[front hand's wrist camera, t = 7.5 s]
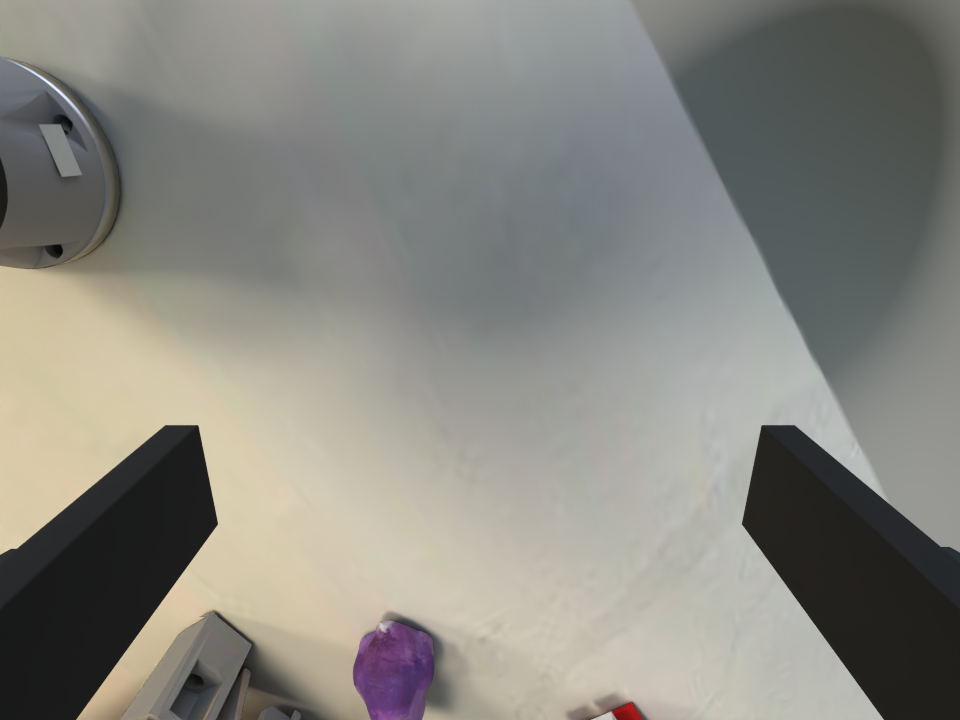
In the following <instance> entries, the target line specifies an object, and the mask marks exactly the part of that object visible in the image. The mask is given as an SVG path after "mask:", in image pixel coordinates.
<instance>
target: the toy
mask: <svg viewBox="0 0 960 720" xmlns="http://www.w3.org/2000/svg"><path fill="white" fill-rule="evenodd" d="M592 720H643V719H642V717H641V716H640V714H639V713H638V711H637V710H636V708H635V707H634V705H633V704H632V703H629V704H627V705H625V706H623V707H620V708H618V709H616V710H614V711H611V712H609V713H606V714H604V715H601V716H599V717H597V718H594V719H592Z"/></svg>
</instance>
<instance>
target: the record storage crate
mask: <svg viewBox="0 0 960 720" xmlns="http://www.w3.org/2000/svg"><path fill="white" fill-rule="evenodd" d="M200 617H206V618H204V619H203V620H201V621H199V622H198V623H196V624H194V625H193V626H191V627H189V628H188V629H186V630H184V631H183V632H181V633H179V634H178V636H177V637H176V639H175V640H174V642H173V643H172V645H171V646H170V648H169V649H168V650H167V652H166V653H165V655H164V656H163V658H162V659H161V661H160V662H159V664H158V665H157V667H156V668H155V669H154V671H153V672H152V674H151V675H150V677H149V678H148V680H147V681H146V683H145V684H144V685H143V687H142V688H141V690H140V691H139V693H138V694H137V696H136V697H135V699H134V700H133V701H132V703H131V704H130V706H129V707H128V709H127V710H126V712H125V713H124V715H123V716H122V717H121V719H120V720H240V719H241V715H242V711H243V706H244V702H245V697H246V693H247V689H248V684H249V680H250V675H251V672H250V671H248V670H247V669H246V668H244V670H243V671H242V673H241V675H240V677H239V678H238V677H237V675H238V673H239V671H240V668H241V666H242V664H243V662H244V660H245V658H246V656H247V654H248V652H249V650H250V648H251V646H252V644H250V643H249V642H248V641H247V640H245V639H244V638H243V637H242V636H240V635H239V634H238V633H237V632H236V631H234V630H233V629H232V628H231V627H229V626H228V625H227V624H226V623H225V622H223V621H222V620H221V619H220V618H218V617H217V615H216V614H215V613H213V612H210V613H208V614H205V615H202V616H200ZM258 720H301V713H299V712H298V711H296V710H294V713H293V715H292V717H291V718H289V717H288V716H286V715H285V714H283V713H282V712H280V711H279V710H278V709H276V708H275V707H273V706H270V707H268V708H266V709H264V710H263V711H261V713H260V715H259V718H258Z"/></svg>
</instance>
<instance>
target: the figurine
mask: <svg viewBox="0 0 960 720" xmlns="http://www.w3.org/2000/svg"><path fill="white" fill-rule="evenodd" d="M433 674H434V647H433V641H432V638H431V637H430V636H429V635H428V634H427V633H424V632H422V631H417V630H415V629H413V628H411V627H409V626H406V625H404V624H401V623H398V622H395V621H382V622H380V623H379V624H378V625H377V628H376V631H375V632H374V633H371V634H369V635H366V636H364V637H363V638H362V639H361V641H360V646H359V651H358V655H357V658H356V660H355V664H354V669H353V679H354V685H355V687H356V689H357V691H358V693H359V694H360V695H361V697H362V698H363V700H364V702H365V704H366V706H367V709H368V712H369V715H370V718H371V720H422V717H423V714H424V710H425V691H426V689H427V688H428V687H429V685H430V684H431V682H432V679H433Z"/></svg>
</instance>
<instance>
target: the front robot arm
mask: <svg viewBox="0 0 960 720" xmlns="http://www.w3.org/2000/svg"><path fill="white" fill-rule="evenodd" d="M119 199H120V181H119V174H118V168H117V164H116V160H115V157H114V154H113V151H112V148H111V146H110V143H109V141H108V139H107V137H106V135H105V133H104V131H103V129H102V128H101V126H100V125H99V123H98V121H97V120H96V118H95V117H94V116H93V114H92V113H91V112H90V110H89V109H88V108H87V107H86V106H85V104H84V103H83V102H82V101H81V100H80V99H79V98H78V97H77V96H76V95H75V94H74V93H73V92H72V91H70V90H69V89H68V88H67V87H66V86H65V85H63V84H62V83H61V82H59V81H58V80H56V79H55V78H53V77H52V76H50V75H49V74H47V73H45V72H43V71H41V70H39V69H37V68H36V67H33V66H31V65H28V64H26V63H23V62H20V61H16V60H13V59H8V58H4V57H0V266H7V267H14V268H24V269H39V268H47V267H51V266H55V265H60V264H64V263H68V262H71V261H74V260H77V259H79V258H81V257H83V256H85V255H87V254H88V253H90V252H91V251H93V250H94V249H95V248H96V247H97V246H98V245H99V244H100V243H101V242H102V241H103V240H104V239H105V237H106V236H107V235H108V233H109V231H110V229H111V228H112V226H113V223H114V221H115V218H116V215H117V211H118V206H119ZM217 525H218V521H217V516H216V511H215V506H214V501H213V496H212V491H211V486H210V481H209V476H208V471H207V466H206V461H205V457H204V452H203V447H202V442H201V437H200V432H199V427H198V425H165V426H164V427H163V428H162V429H160V430H159V431H158V432H157V433H156V434H154V435H153V436H152V437H151V438H150V439H148V440H147V441H146V442H145V443H144V444H142V445H141V446H140V447H139V448H138V449H136V450H135V451H134V452H133V453H132V454H130V455H129V456H128V457H127V458H126V459H124V460H123V461H122V462H121V463H120V464H118V465H117V466H116V467H115V468H114V469H112V470H111V471H110V472H109V473H108V474H106V475H105V476H104V477H103V478H102V479H100V480H99V481H98V482H97V483H96V484H94V485H93V486H92V487H91V488H90V489H88V490H87V491H86V492H85V493H84V494H82V495H81V496H80V497H79V498H78V499H76V500H75V501H74V502H73V503H71V504H70V505H69V506H68V507H67V508H65V509H64V510H63V511H62V512H61V513H59V514H58V515H57V516H56V517H55V518H53V519H52V520H51V521H50V522H49V523H47V524H46V525H45V526H44V527H43V528H41V529H40V530H39V531H38V532H37V533H35V534H34V535H33V536H32V537H31V538H29V539H28V540H27V541H26V542H25V543H23V544H22V545H21V546H20V547H19V548H17V549H10V550H8V551H6V552H5V553H3V554H1V555H0V720H76V719H77V718H78V716H79V715H80V713H81V712H82V711H83V709H84V708H85V707H86V705H87V704H88V702H89V701H90V700H91V698H92V697H93V696H94V694H95V693H96V691H97V690H98V689H99V687H100V686H101V685H102V683H103V682H104V680H105V679H106V678H107V676H108V675H109V674H110V672H111V671H112V669H113V668H114V667H115V665H116V664H117V663H118V661H119V660H120V658H121V657H122V656H123V654H124V653H125V652H126V650H127V649H128V647H129V646H130V645H131V643H132V642H133V641H134V639H135V638H136V636H137V635H138V634H139V632H140V631H141V630H142V628H143V627H144V625H145V624H146V623H147V621H148V620H149V618H150V617H151V616H152V614H153V613H154V612H155V610H156V609H157V607H158V606H159V605H160V603H161V602H162V601H163V599H164V598H165V596H166V595H167V594H168V592H169V591H170V590H171V588H172V587H173V585H174V584H175V583H176V581H177V580H178V579H179V577H180V576H181V574H182V573H183V572H184V570H185V569H186V568H187V566H188V565H189V563H190V562H191V561H192V559H193V558H194V557H195V555H196V554H197V552H198V551H199V550H200V548H201V547H202V546H203V544H204V543H205V541H206V540H207V539H208V537H209V536H210V535H211V533H212V532H213V530H214V529H215V528H216V526H217ZM742 525H743V526H744V528H745V529H746V530H747V532H748V533H749V535H750V536H751V537H752V539H753V540H754V541H755V543H756V544H757V546H758V547H759V548H760V550H761V551H762V552H763V554H764V555H765V557H766V558H767V559H768V561H769V562H770V563H771V565H772V566H773V568H774V569H775V570H776V572H777V573H778V574H779V576H780V577H781V579H782V580H783V581H784V583H785V584H786V585H787V587H788V588H789V590H790V591H791V592H792V594H793V595H794V596H795V598H796V599H797V601H798V602H799V603H800V605H801V606H802V607H803V609H804V610H805V612H806V613H807V614H808V616H809V617H810V618H811V620H812V621H813V623H814V624H815V625H816V627H817V628H818V630H819V631H820V632H821V634H822V635H823V636H824V638H825V639H826V641H827V642H828V643H829V645H830V646H831V647H832V649H833V650H834V652H835V653H836V654H837V656H838V657H839V658H840V660H841V661H842V663H843V664H844V665H845V667H846V668H847V669H848V671H849V672H850V674H851V675H852V676H853V678H854V679H855V680H856V682H857V683H858V685H859V686H860V687H861V689H862V690H863V691H864V693H865V694H866V696H867V697H868V698H869V700H870V701H871V702H872V704H873V705H874V707H875V708H876V709H877V711H878V712H879V713H880V715H881V716H882V718H883V719H884V720H960V553H959V552H958V551H956V550H954V549H952V548H950V547H940V546H939V545H938V544H937V543H935V542H934V541H933V540H932V539H931V538H929V537H928V536H927V535H926V534H924V533H923V532H922V531H921V530H920V529H919V528H917V527H916V526H915V525H914V524H913V523H911V522H910V521H909V520H908V519H907V518H905V517H904V516H903V515H902V514H901V513H899V512H898V511H897V510H896V509H895V508H893V507H892V506H891V505H890V504H889V503H887V502H886V501H885V500H884V499H882V498H881V497H880V496H879V495H878V494H876V493H875V492H874V491H873V490H872V489H870V488H869V487H868V486H867V485H866V484H864V483H863V482H862V481H861V480H860V479H858V478H857V477H856V476H855V475H854V474H852V473H851V472H850V471H849V470H848V469H846V468H845V467H844V466H843V465H842V464H840V463H839V462H838V461H837V460H836V459H834V458H833V457H832V456H831V455H830V454H828V453H827V452H826V451H825V450H824V449H822V448H821V447H820V446H819V445H818V444H816V443H815V442H814V441H813V440H812V439H810V438H809V437H808V436H807V435H806V434H804V433H803V432H802V431H801V430H800V429H798V428H797V427H796V426H795V425H762V427H761V432H760V437H759V442H758V447H757V451H756V456H755V461H754V466H753V471H752V476H751V481H750V486H749V491H748V496H747V501H746V506H745V511H744V516H743V521H742Z"/></svg>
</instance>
